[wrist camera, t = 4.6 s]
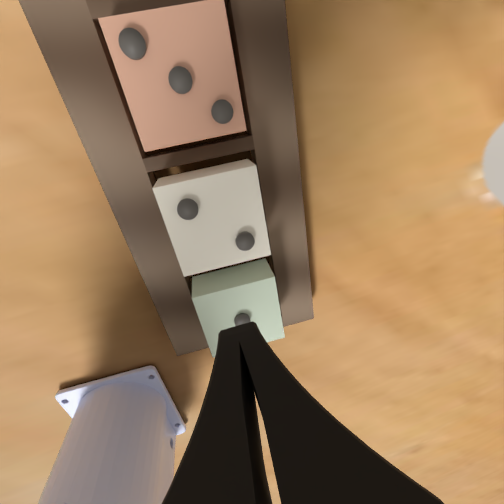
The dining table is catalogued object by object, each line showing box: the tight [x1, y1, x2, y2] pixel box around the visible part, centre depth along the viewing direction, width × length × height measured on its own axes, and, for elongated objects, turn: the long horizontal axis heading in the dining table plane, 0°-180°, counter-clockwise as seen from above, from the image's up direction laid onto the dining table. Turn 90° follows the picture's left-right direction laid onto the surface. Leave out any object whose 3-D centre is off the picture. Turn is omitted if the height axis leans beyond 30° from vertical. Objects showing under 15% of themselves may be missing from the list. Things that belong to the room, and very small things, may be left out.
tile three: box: [98, 0, 246, 152], centre depth 13 cm, size 5×5×3 cm
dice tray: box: [19, 0, 314, 356], centre depth 17 cm, size 21×11×2 cm, turn 10°
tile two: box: [152, 159, 271, 277], centre depth 15 cm, size 5×5×3 cm
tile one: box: [192, 258, 285, 357], centre depth 18 cm, size 5×5×3 cm
